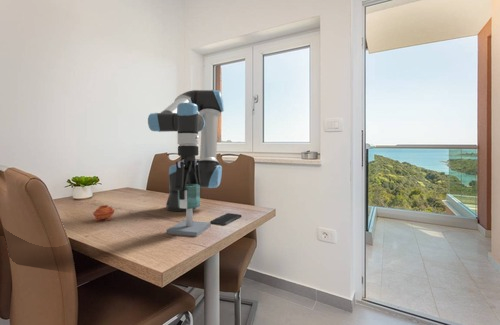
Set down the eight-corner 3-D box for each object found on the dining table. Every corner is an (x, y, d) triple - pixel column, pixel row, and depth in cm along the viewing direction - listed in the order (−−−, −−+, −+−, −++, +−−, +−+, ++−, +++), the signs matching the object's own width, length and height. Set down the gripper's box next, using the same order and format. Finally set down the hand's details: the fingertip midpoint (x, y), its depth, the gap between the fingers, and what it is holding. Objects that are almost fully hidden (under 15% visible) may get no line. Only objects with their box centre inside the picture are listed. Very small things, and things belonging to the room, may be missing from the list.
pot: (120, 217, 111) (116, 203, 109) (105, 226, 104) (101, 211, 102) (106, 214, 114) (103, 201, 112) (91, 223, 107) (87, 209, 105)
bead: (185, 203, 98) (184, 183, 98) (202, 204, 97) (202, 184, 96) (174, 208, 91) (174, 186, 91) (193, 209, 89) (193, 187, 89)
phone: (242, 214, 113) (225, 223, 99) (242, 217, 113) (225, 226, 99) (227, 212, 116) (208, 221, 103) (227, 215, 116) (208, 224, 103)
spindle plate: (183, 223, 102) (182, 188, 101) (210, 226, 99) (210, 189, 98) (166, 233, 90) (165, 193, 89) (196, 236, 87) (196, 195, 86)
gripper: (183, 144, 82) (184, 212, 83) (208, 145, 102) (209, 200, 103) (163, 144, 84) (164, 211, 85) (192, 145, 103) (193, 199, 105)
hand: (189, 205), depth 94 cm, fingers closed on bead, 8 cm apart
